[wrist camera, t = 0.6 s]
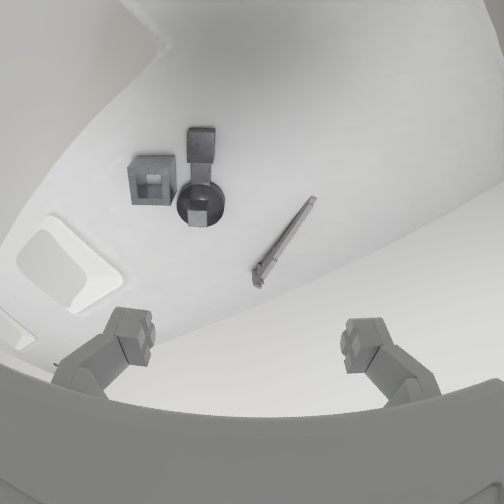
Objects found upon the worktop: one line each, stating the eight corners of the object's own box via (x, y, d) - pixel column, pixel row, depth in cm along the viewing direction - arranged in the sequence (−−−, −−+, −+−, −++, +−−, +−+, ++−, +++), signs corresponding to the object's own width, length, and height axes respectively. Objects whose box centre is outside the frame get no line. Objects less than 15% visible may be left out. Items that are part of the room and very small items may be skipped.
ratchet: (223, 220, 52) (222, 240, 47) (180, 218, 51) (174, 238, 47) (228, 129, 41) (226, 140, 37) (177, 128, 41) (168, 139, 36)
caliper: (256, 271, 60) (257, 293, 56) (251, 269, 60) (252, 291, 55) (316, 197, 50) (324, 216, 45) (311, 194, 49) (318, 213, 44)
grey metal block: (137, 155, 43) (127, 167, 39) (175, 155, 44) (168, 167, 40) (141, 190, 47) (132, 204, 43) (176, 191, 48) (170, 205, 44)
